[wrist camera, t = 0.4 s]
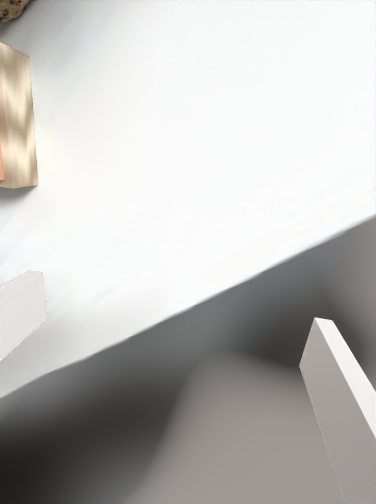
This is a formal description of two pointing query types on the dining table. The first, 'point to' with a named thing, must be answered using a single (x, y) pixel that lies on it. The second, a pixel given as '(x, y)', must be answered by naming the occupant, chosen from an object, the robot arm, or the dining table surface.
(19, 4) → the rock
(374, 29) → the dining table surface
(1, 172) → the tile
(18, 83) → the board
